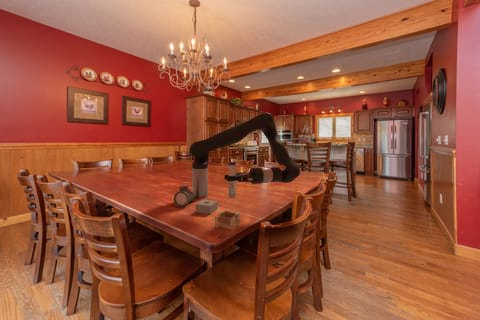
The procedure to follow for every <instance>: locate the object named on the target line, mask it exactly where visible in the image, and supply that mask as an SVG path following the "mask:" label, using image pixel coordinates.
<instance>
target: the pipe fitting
mask: <svg viewBox="0 0 480 320" xmlns="http://www.w3.org/2000/svg"><path fill="white" fill-rule="evenodd" d="M178 189H179V191H177V192H176V193H175V194H174V195H173V203H174V204H175V205H176V207H179V208H184V207H185V206H187V205H189V203H191V202H192V201H193V200H194V199H195V197H194V193H193V191H191V189H190V187H189V185H181V186H178Z"/></svg>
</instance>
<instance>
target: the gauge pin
mask: <svg viewBox="0 0 480 320" xmlns="http://www.w3.org/2000/svg"><path fill="white" fill-rule="evenodd" d="M227 163H228V175H229V176H235V177H236V172H237V171H236V170H237V168H236V165H237V162H236V161H227ZM236 184H237V181H236V180H235V181H228V198H229V199H235V198H237V197H236V195H237V191H236V190H237V187H236V186H237V185H236Z"/></svg>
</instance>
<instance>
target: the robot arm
mask: <svg viewBox="0 0 480 320" xmlns="http://www.w3.org/2000/svg"><path fill="white" fill-rule="evenodd" d="M258 130H260V132H262V133H263V135H264V136H265V138H266V139H267V141H268V144H269V146H270V148H271V152H272V153H273V156H274V159H275V160H276V162H277V164H278V166H284V167H285V168H284V169H281V167H276V166H273V167H265V166H264V167H262V166H261V167H252V168H250V169H249V171H243V172H242V171H239V172H238V171H236V177H235V176H229V174H224V180H225V181H227V182H229V181H235V180H236V182H238V183H251V184H252V185H259V184H261V185H263V184H268V183H276V182H278V183H283V184H287V183H292V182H293V181H294V180H295V179H296V178H298V177H299V176H300V175H301V170H300V169H301V168H300V166H299V165H298V164H297V162H295V160H294V159H293V158H292V157H291V155H290V154H289V152H288V150H287V148H286V146H285V144H284V143H283V141H282V139H281V138H280V136H279V134H278V130H277V127H276V122H275V119H274V117H273V115H272V114H271V113H269V112H263V113H260V114H258V115H256V116H253V117H252V118H250V119H248V120H246V121H244V122H242V123H239V124H238V125H235V126H232V127H230V128H227V129H224V130H223V131H220V132H218V133H215V134H214V135H212V136H210V137H208V138H206V139H202V140H201V139H200V140H197V141H195V142H193V143H192V144H191V145H190V147H189V153H190V155H191V156H192V157H194V158H193V159H194V160H193V162H192V164H191V166H192V167H191V173H192V177H191V178H192V192H193V193H194V199H195V198H196V199H197V198H198V199H201V198H203V199H204V198H207V197H208V196H209V169H208V168H209V166H208V165H209V163H210V160H209V159H210V152H211V151H214V150H218V149H223V148H227V147H230V146H233V145H234V144H235V145H236V144H238V143H239V142H241V141H242V140H244V138H246V137H247V136H248V135H249V134H251V133H253V132H256V131H258Z"/></svg>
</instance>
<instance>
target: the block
mask: <svg viewBox="0 0 480 320" xmlns="http://www.w3.org/2000/svg"><path fill="white" fill-rule="evenodd" d="M194 209H195V213H199V214H204V215H205V214H206V215H211V214H213V213H214V212H216V211H217V210H218V209H219V201H218V200H212V199H211V200H210V199H202V200H200V201H198V202H196V203H195V208H194Z"/></svg>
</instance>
